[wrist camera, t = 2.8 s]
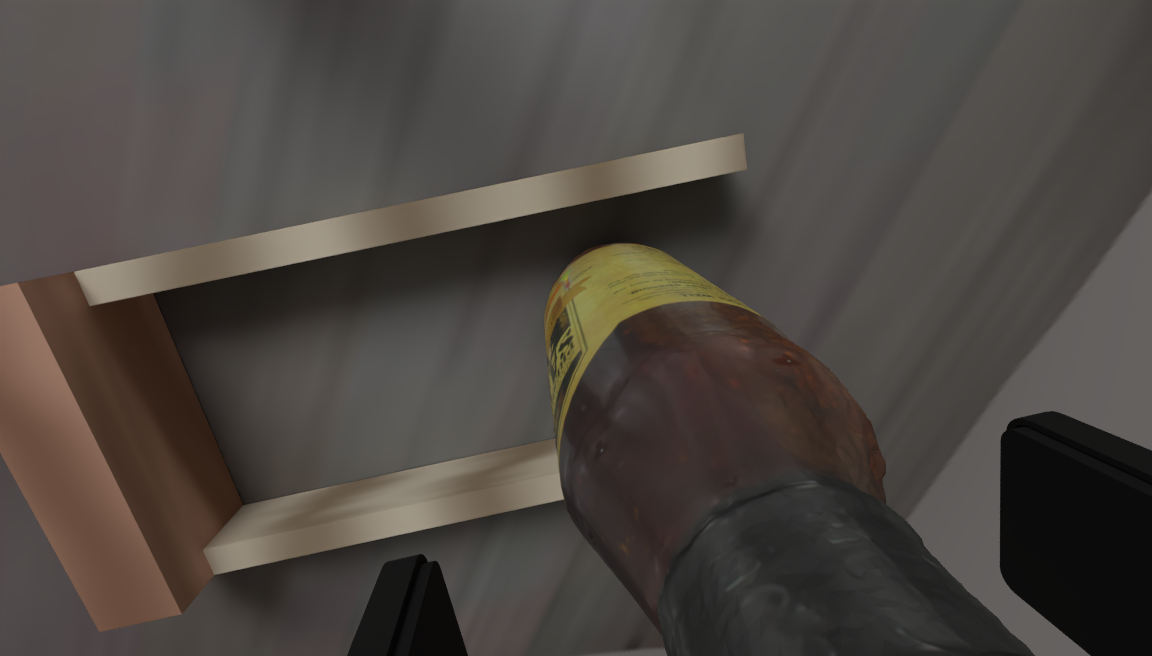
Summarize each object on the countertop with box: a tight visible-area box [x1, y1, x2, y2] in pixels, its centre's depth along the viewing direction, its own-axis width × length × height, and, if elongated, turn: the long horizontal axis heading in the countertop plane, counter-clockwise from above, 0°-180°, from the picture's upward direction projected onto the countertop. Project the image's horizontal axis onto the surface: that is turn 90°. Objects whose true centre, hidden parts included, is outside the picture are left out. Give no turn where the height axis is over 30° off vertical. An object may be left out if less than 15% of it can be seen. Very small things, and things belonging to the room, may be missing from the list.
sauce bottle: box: [544, 243, 1035, 656], centre depth 13 cm, size 7×6×20 cm
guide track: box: [0, 133, 747, 632], centre depth 20 cm, size 26×12×5 cm, turn 101°
